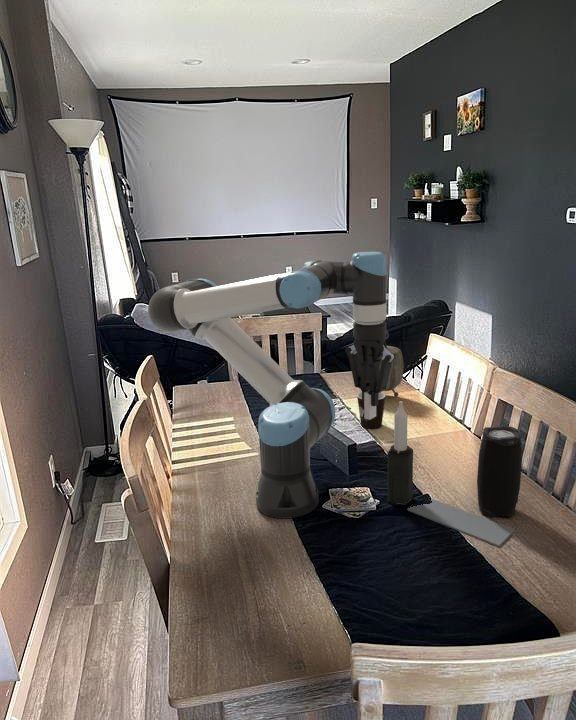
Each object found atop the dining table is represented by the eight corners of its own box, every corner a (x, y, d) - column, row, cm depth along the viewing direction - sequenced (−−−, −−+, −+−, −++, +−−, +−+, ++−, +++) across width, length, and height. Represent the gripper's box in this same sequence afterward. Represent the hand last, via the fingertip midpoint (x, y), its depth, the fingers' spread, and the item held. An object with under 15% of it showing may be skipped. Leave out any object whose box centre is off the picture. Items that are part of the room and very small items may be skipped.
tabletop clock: (403, 396, 207) (403, 327, 200) (393, 404, 200) (393, 333, 193) (365, 390, 215) (365, 323, 207) (354, 398, 207) (353, 329, 200)
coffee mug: (387, 430, 179) (387, 399, 176) (358, 431, 179) (358, 400, 177) (382, 416, 190) (382, 387, 187) (355, 417, 190) (355, 388, 188)
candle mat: (499, 547, 120) (499, 545, 120) (407, 510, 135) (407, 508, 135) (514, 531, 125) (514, 529, 125) (424, 497, 140) (424, 496, 140)
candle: (386, 502, 139) (386, 403, 132) (393, 492, 143) (393, 396, 136) (407, 506, 137) (408, 406, 130) (413, 496, 141) (415, 399, 134)
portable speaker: (468, 510, 134) (471, 431, 129) (492, 496, 139) (497, 420, 134) (501, 526, 127) (506, 443, 122) (525, 511, 133) (532, 431, 127)
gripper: (403, 321, 132) (402, 418, 139) (356, 314, 141) (358, 406, 147) (383, 327, 127) (383, 428, 134) (337, 320, 136) (339, 415, 142)
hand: (370, 417), depth 141 cm, fingers closed
